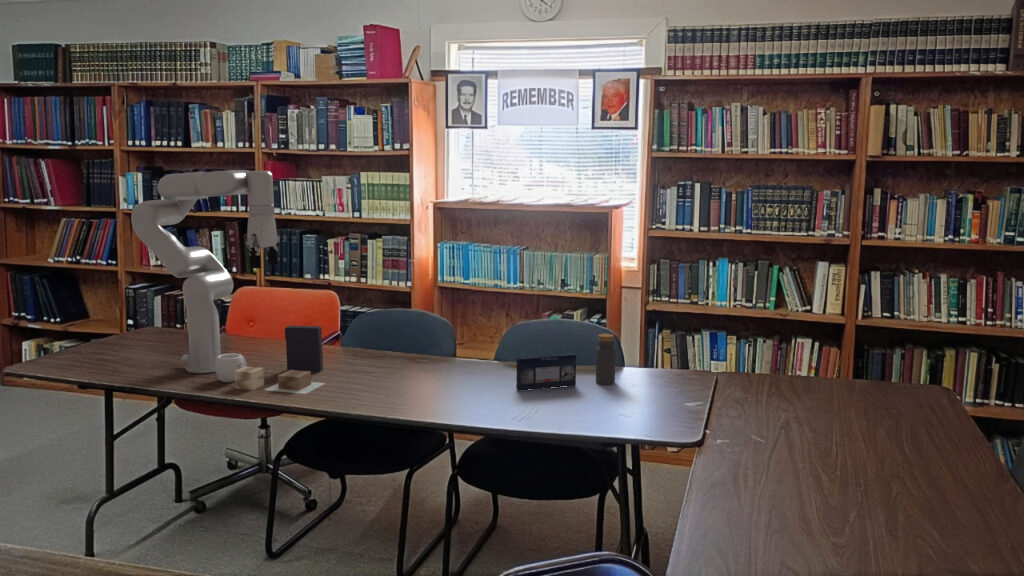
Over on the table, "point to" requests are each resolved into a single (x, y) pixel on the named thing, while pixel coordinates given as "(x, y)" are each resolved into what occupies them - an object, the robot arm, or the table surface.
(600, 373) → the bottle
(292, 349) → the black upright slab
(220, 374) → the mug
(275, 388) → the board
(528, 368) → the vhs cassette tape
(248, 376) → the maple cube
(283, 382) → the walnut block
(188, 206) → the robot arm
